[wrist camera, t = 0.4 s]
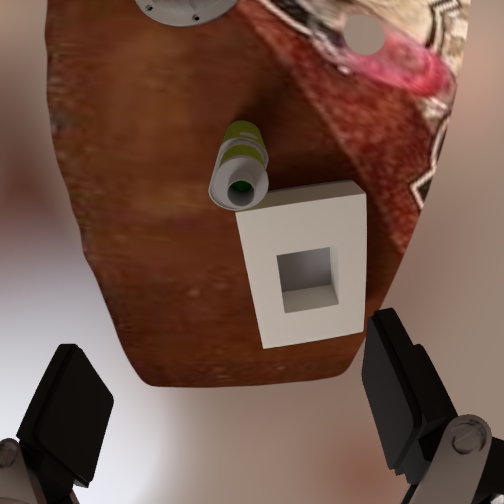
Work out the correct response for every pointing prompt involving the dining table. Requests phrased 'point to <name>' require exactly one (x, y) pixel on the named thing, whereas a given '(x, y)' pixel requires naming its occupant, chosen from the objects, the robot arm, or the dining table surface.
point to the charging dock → (307, 261)
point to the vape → (240, 168)
